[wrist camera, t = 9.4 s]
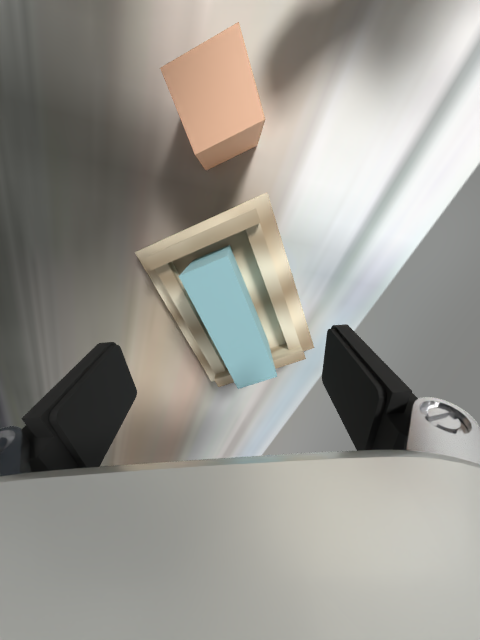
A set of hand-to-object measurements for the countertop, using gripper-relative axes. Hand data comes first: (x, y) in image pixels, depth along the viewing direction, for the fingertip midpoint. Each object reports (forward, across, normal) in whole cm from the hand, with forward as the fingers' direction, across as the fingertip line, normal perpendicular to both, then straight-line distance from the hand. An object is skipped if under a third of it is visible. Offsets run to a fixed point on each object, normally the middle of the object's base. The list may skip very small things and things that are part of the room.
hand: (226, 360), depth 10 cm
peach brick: (+16, 0, -12) cm, 20 cm away
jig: (+16, 0, +3) cm, 16 cm away
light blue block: (+15, 0, +3) cm, 15 cm away
